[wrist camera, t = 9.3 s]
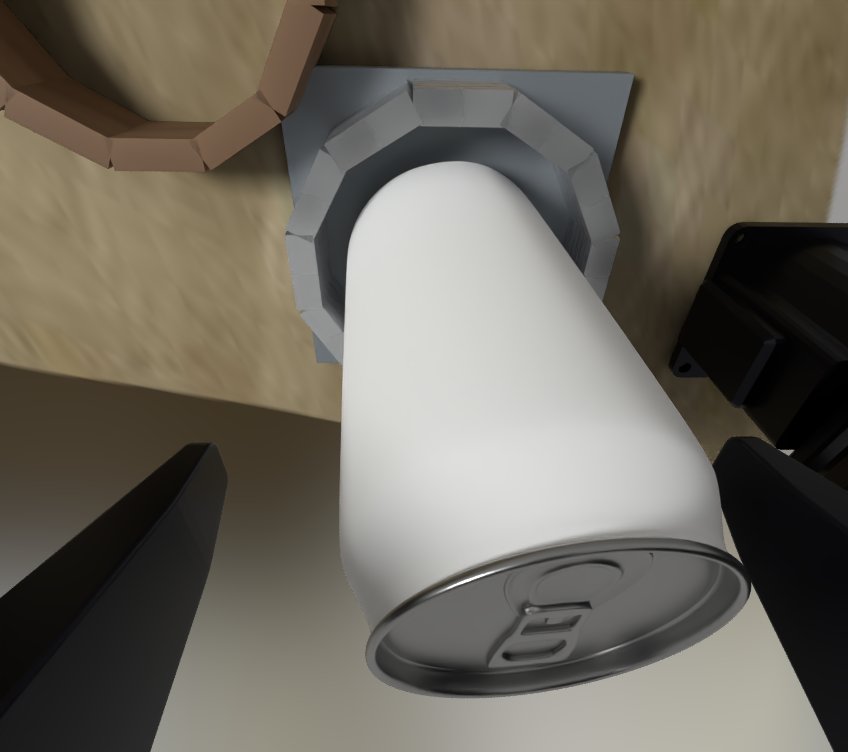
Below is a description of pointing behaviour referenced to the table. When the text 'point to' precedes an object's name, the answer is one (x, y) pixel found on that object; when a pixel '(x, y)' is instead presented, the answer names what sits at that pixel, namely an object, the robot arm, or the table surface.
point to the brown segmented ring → (154, 140)
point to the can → (510, 458)
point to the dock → (445, 160)
